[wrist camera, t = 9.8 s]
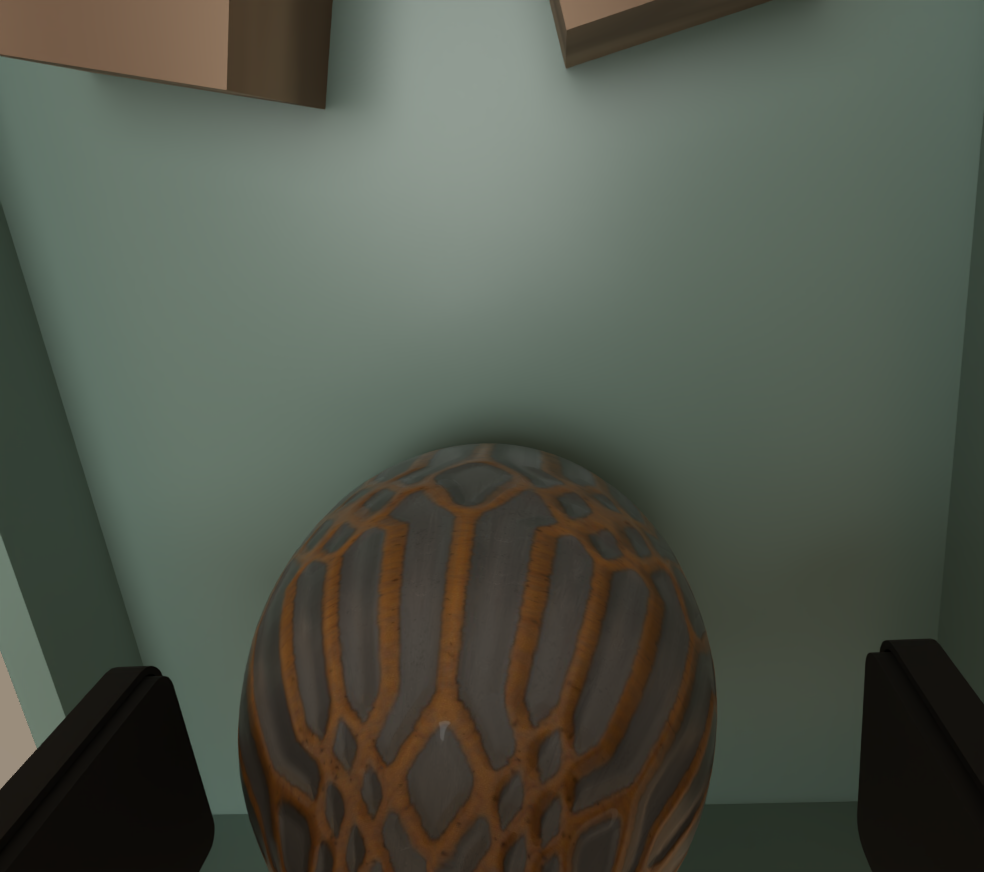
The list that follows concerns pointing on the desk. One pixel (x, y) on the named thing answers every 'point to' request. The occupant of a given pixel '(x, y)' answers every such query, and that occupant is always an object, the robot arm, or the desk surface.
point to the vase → (479, 679)
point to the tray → (512, 352)
